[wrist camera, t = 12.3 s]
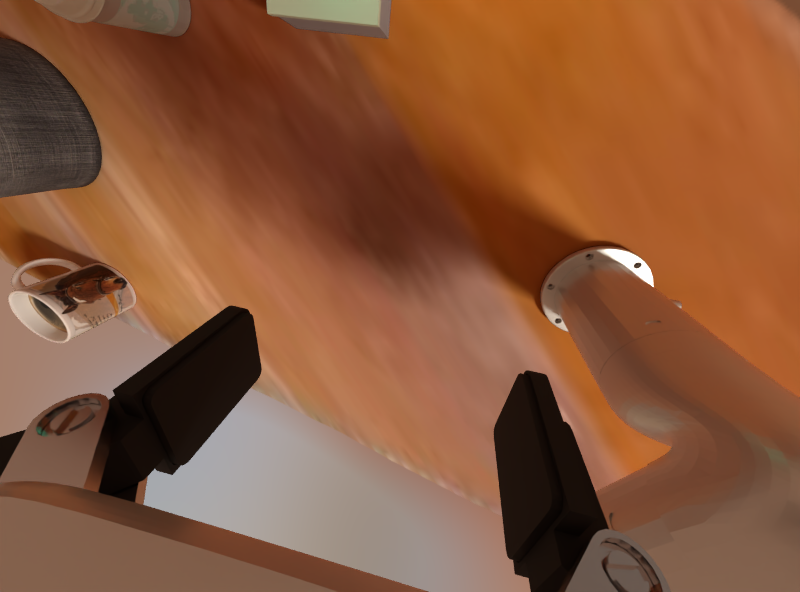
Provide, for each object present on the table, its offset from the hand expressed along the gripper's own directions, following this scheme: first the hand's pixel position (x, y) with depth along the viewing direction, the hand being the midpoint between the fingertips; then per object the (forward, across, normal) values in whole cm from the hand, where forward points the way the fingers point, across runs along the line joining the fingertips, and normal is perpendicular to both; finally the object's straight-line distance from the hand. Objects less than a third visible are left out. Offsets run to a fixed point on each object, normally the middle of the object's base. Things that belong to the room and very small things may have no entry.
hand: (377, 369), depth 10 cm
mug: (+31, +58, +24) cm, 70 cm away
